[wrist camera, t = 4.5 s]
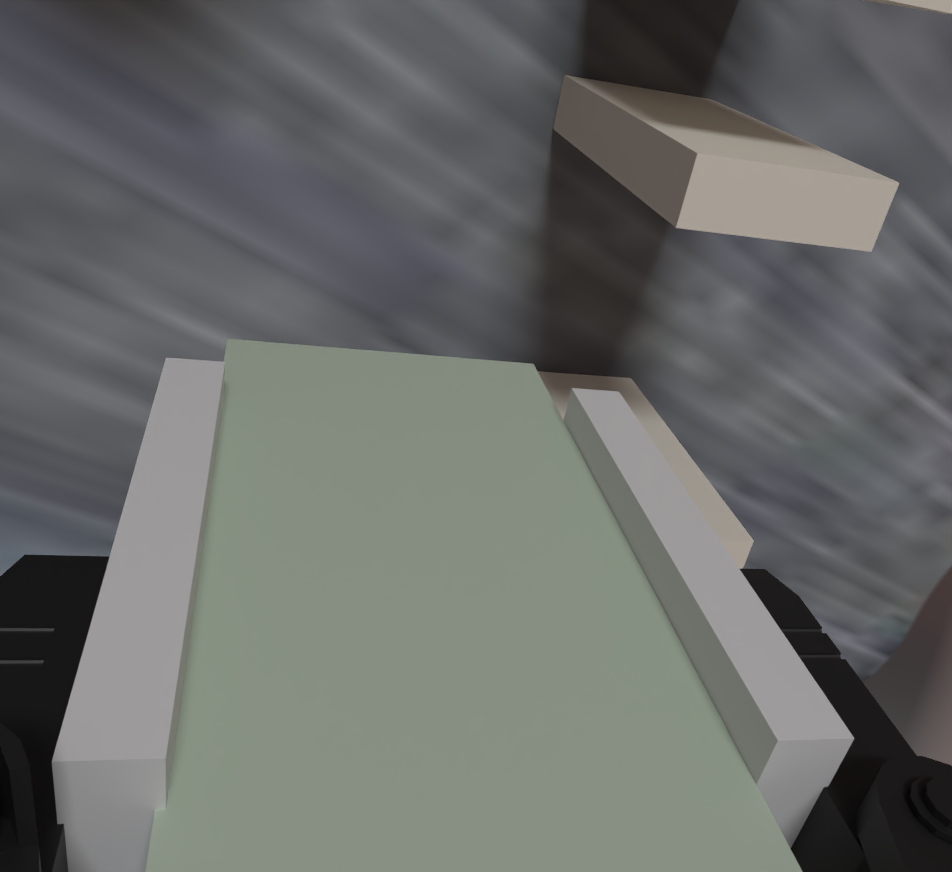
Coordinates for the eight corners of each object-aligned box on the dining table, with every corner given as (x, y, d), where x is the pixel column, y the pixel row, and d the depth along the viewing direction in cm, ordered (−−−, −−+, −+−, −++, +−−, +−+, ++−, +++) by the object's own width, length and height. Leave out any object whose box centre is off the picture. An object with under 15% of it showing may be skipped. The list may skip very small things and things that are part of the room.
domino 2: (696, 150, 29) (871, 251, 20) (553, 129, 27) (675, 227, 19) (711, 99, 28) (899, 182, 19) (564, 74, 27) (697, 153, 18)
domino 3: (620, 415, 33) (735, 585, 25) (494, 407, 32) (572, 583, 24) (630, 378, 33) (753, 541, 24) (503, 368, 31) (586, 537, 23)
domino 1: (515, 444, 16) (778, 1076, 7) (224, 427, 14) (126, 1161, 6) (533, 364, 15) (852, 966, 6) (226, 338, 14) (121, 1036, 5)
